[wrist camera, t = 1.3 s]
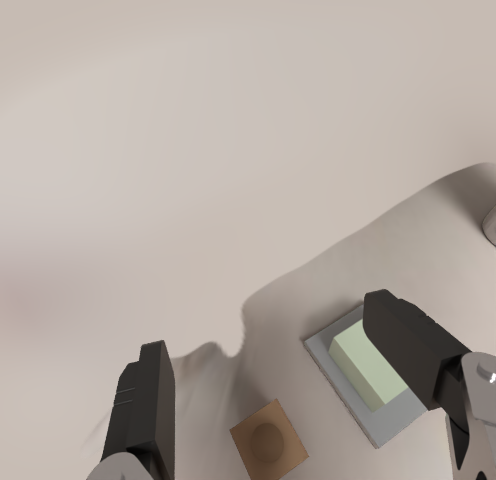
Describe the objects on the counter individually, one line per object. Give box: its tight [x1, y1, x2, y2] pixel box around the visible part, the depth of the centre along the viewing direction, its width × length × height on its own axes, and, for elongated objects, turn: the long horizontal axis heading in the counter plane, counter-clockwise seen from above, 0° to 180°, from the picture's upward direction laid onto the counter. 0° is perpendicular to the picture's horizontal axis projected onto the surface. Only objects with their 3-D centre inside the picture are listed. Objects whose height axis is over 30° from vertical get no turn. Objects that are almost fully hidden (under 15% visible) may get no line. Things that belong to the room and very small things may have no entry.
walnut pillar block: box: [230, 399, 309, 480], centre depth 26 cm, size 4×4×11 cm
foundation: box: [304, 304, 428, 449], centre depth 31 cm, size 10×12×6 cm
